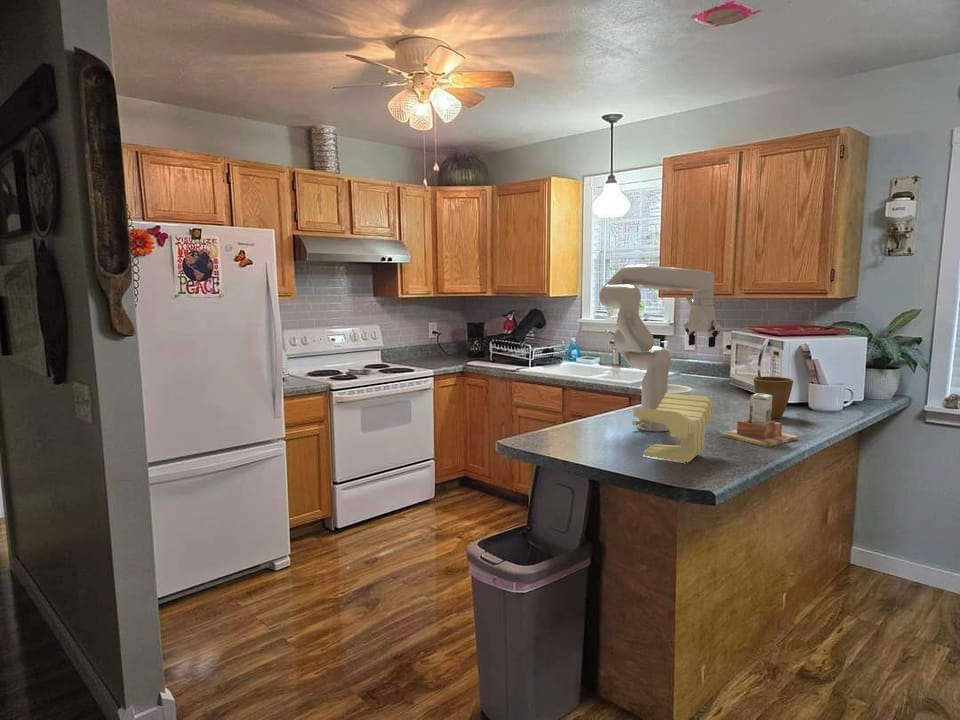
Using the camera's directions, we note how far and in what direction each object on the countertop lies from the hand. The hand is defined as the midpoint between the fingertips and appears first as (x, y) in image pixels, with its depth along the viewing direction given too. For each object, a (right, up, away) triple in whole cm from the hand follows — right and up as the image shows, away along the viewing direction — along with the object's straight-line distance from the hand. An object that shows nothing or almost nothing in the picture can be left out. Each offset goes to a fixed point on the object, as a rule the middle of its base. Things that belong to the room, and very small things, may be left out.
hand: (701, 346), depth 243 cm
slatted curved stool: (-27, -37, -48) cm, 66 cm away
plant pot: (+32, -29, +9) cm, 44 cm away
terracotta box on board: (+11, -34, -26) cm, 44 cm away
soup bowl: (-1, -26, +43) cm, 50 cm away
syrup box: (+11, -33, -26) cm, 43 cm away
